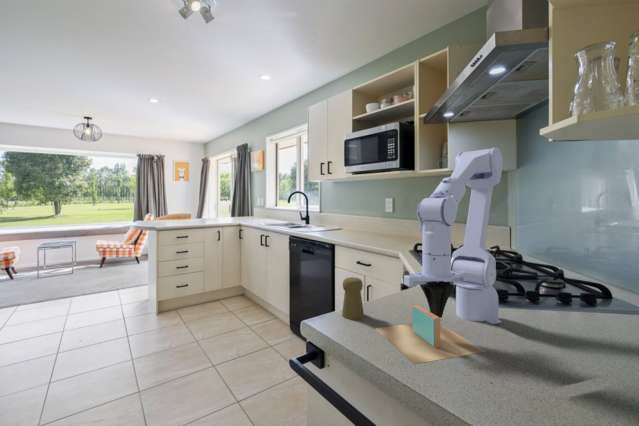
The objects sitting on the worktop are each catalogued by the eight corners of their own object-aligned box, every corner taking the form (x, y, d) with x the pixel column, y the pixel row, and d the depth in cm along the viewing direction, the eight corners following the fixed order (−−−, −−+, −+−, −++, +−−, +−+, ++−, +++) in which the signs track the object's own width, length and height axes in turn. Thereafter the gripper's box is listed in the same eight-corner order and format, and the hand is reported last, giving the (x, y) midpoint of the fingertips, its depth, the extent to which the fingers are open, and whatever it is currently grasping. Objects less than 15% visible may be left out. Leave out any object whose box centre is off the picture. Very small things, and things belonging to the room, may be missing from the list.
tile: (417, 330, 67) (417, 304, 67) (440, 347, 60) (440, 317, 59) (412, 331, 67) (412, 305, 67) (434, 348, 59) (434, 318, 59)
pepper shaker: (364, 325, 74) (363, 281, 73) (339, 323, 75) (339, 280, 75) (365, 316, 80) (364, 275, 79) (342, 314, 81) (342, 274, 80)
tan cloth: (434, 325, 73) (434, 320, 73) (486, 357, 58) (486, 351, 58) (375, 333, 69) (375, 328, 69) (413, 370, 54) (413, 364, 54)
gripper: (417, 258, 58) (417, 327, 58) (478, 254, 61) (478, 319, 62) (398, 253, 64) (399, 314, 65) (455, 249, 68) (454, 307, 69)
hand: (436, 316), depth 64 cm, fingers closed
